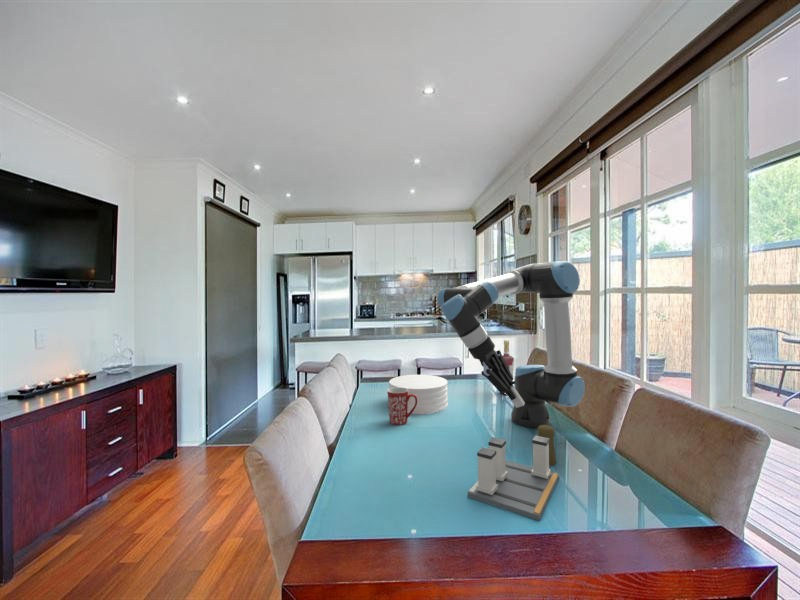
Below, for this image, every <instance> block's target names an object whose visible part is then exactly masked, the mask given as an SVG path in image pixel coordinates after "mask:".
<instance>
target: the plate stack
mask: <svg viewBox="0 0 800 600" xmlns="http://www.w3.org/2000/svg"><path fill="white" fill-rule="evenodd" d="M388 383H389V384H388V385H389V387H388V389H390V388H395V387H402V388H407V389H408V395H410V394H414V395H416V397H417V405H416V408H415V409H414V411H413V412H412V414H411V415H430V414H429V413H431V414H435V412H436V413H439V411H440V412H442V411H441V410H443V411H445V410H446V409H447V408H448V407H447V406H448V405H449V403H448V400H449V397H448V394H449V393H448V385H449V384H448V380H447V379H446V378H444V377H441V376H438V375H431V374H430V375H429V374H408V375H406V374H405V375H400V376H396V377H393V378H391V379H390V380H389V381H388ZM414 405H415V398H414V397H410V398H409V401H408V408H407V413H409V412H410V411H411V410H412V409H413V407H414ZM446 407H447V408H446ZM445 408H446V409H445ZM444 409H445V410H444Z"/></svg>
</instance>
